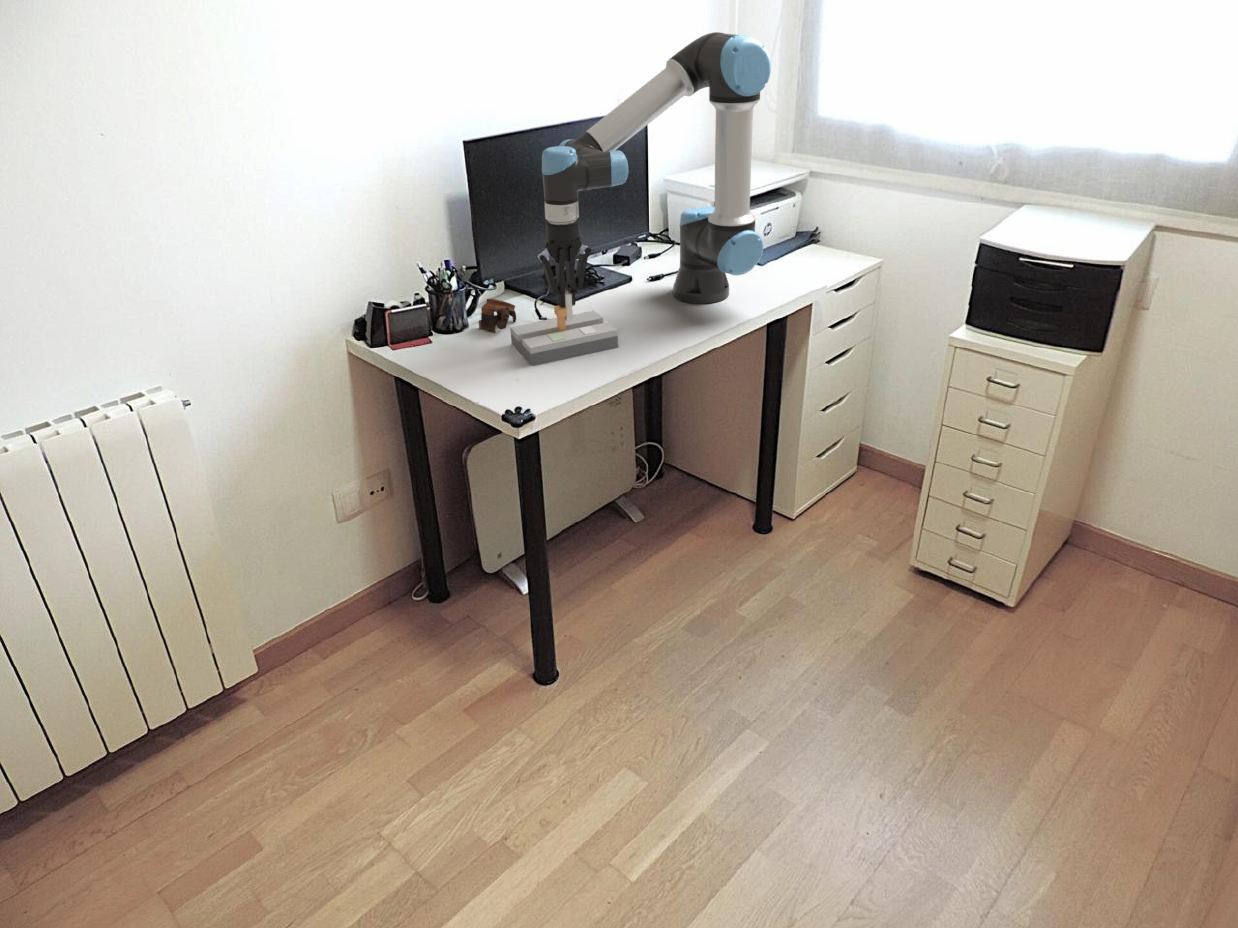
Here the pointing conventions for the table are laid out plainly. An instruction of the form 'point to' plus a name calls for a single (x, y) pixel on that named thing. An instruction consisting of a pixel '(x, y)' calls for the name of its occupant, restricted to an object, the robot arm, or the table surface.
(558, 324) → the breaker handle
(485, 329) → the brown arched block
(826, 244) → the table surface
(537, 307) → the table surface
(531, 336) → the box
